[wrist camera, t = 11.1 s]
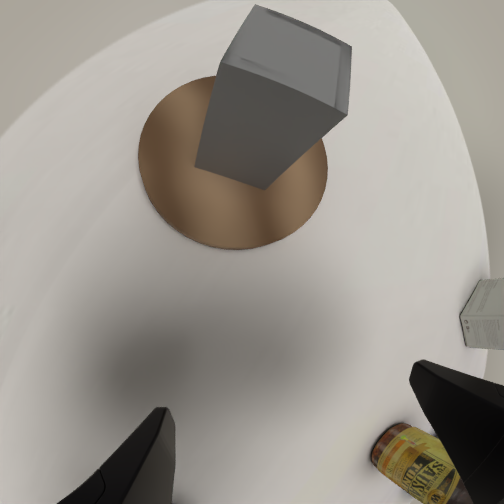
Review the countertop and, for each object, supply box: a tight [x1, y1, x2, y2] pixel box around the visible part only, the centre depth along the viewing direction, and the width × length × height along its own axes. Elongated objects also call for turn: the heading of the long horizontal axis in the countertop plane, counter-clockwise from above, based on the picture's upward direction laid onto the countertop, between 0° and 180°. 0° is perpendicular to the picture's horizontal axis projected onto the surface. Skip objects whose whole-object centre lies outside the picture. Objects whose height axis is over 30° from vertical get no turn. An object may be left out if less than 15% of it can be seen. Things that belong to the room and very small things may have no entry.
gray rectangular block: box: [194, 5, 352, 190], centre depth 13 cm, size 5×5×10 cm
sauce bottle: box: [372, 423, 504, 504], centre depth 12 cm, size 6×6×20 cm
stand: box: [138, 76, 328, 250], centre depth 17 cm, size 14×14×5 cm
